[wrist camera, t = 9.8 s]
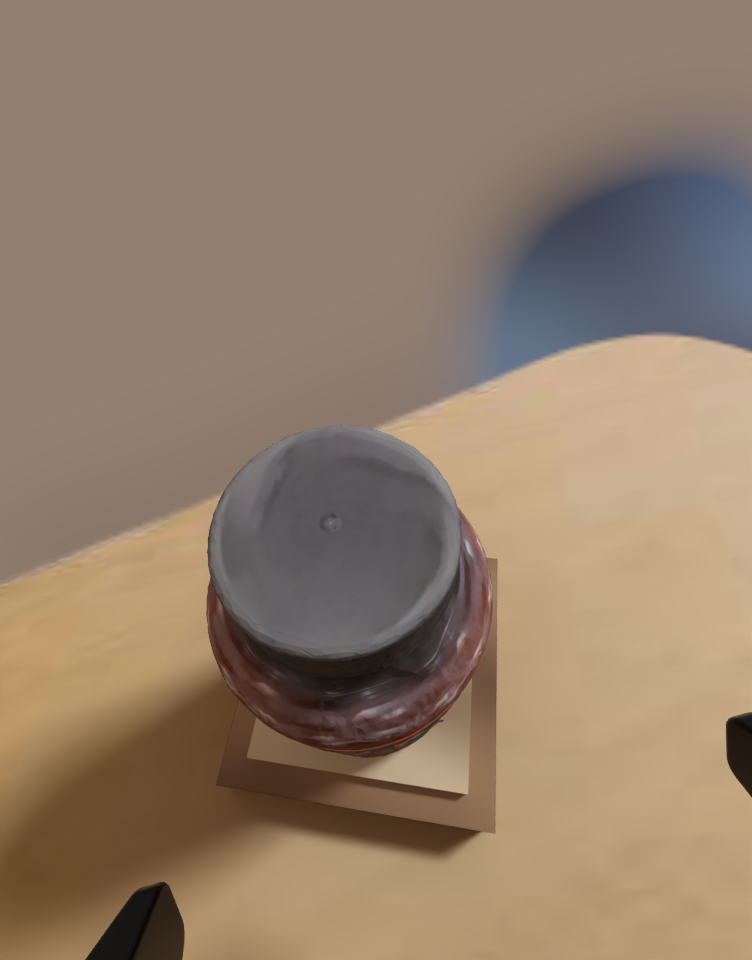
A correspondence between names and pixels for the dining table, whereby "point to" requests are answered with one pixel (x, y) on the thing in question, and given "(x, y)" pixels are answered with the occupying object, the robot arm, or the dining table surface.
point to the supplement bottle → (346, 591)
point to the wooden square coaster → (387, 760)
